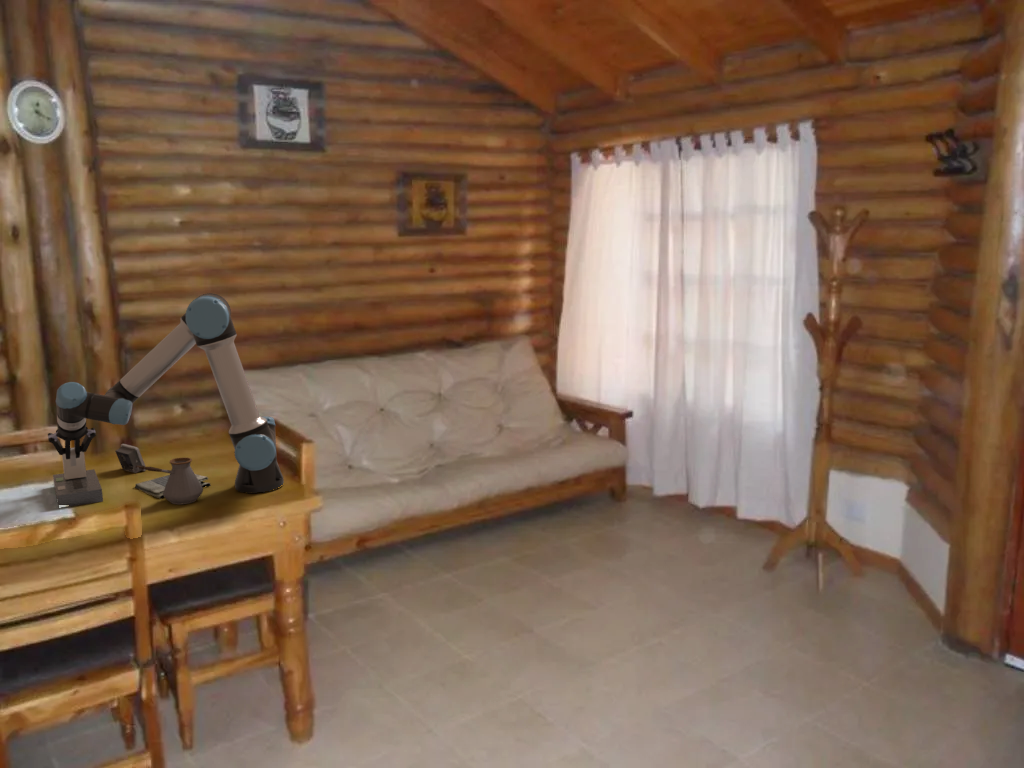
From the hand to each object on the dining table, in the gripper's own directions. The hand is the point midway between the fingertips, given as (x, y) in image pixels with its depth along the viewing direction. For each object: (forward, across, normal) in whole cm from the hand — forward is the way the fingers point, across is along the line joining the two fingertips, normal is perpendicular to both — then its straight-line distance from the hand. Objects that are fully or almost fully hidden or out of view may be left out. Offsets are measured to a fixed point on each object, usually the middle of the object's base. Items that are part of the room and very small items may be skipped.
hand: (72, 462), depth 257 cm
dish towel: (0, +27, -15) cm, 31 cm away
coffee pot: (-13, +23, -27) cm, 38 cm away
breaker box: (+6, 0, -8) cm, 10 cm away
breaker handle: (+6, +1, -2) cm, 7 cm away
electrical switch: (+18, +19, +4) cm, 26 cm away
